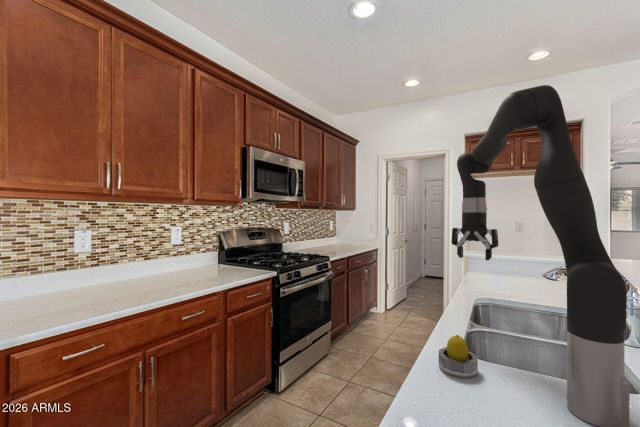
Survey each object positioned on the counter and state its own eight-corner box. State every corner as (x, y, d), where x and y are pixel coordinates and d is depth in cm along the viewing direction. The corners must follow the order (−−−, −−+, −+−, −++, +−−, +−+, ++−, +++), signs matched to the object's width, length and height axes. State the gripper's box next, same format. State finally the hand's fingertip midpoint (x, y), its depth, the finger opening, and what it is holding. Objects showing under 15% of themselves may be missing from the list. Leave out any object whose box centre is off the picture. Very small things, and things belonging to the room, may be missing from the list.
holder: (476, 364, 88) (476, 350, 88) (478, 381, 79) (478, 366, 79) (439, 358, 92) (439, 344, 92) (437, 373, 83) (437, 358, 83)
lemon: (465, 370, 81) (464, 340, 81) (444, 364, 85) (443, 335, 85) (471, 363, 86) (470, 334, 86) (450, 357, 89) (450, 329, 89)
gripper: (448, 211, 107) (448, 257, 106) (493, 211, 97) (493, 262, 96) (456, 211, 112) (456, 255, 112) (500, 211, 102) (500, 259, 102)
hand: (474, 258), depth 104 cm, fingers open, 8 cm apart
